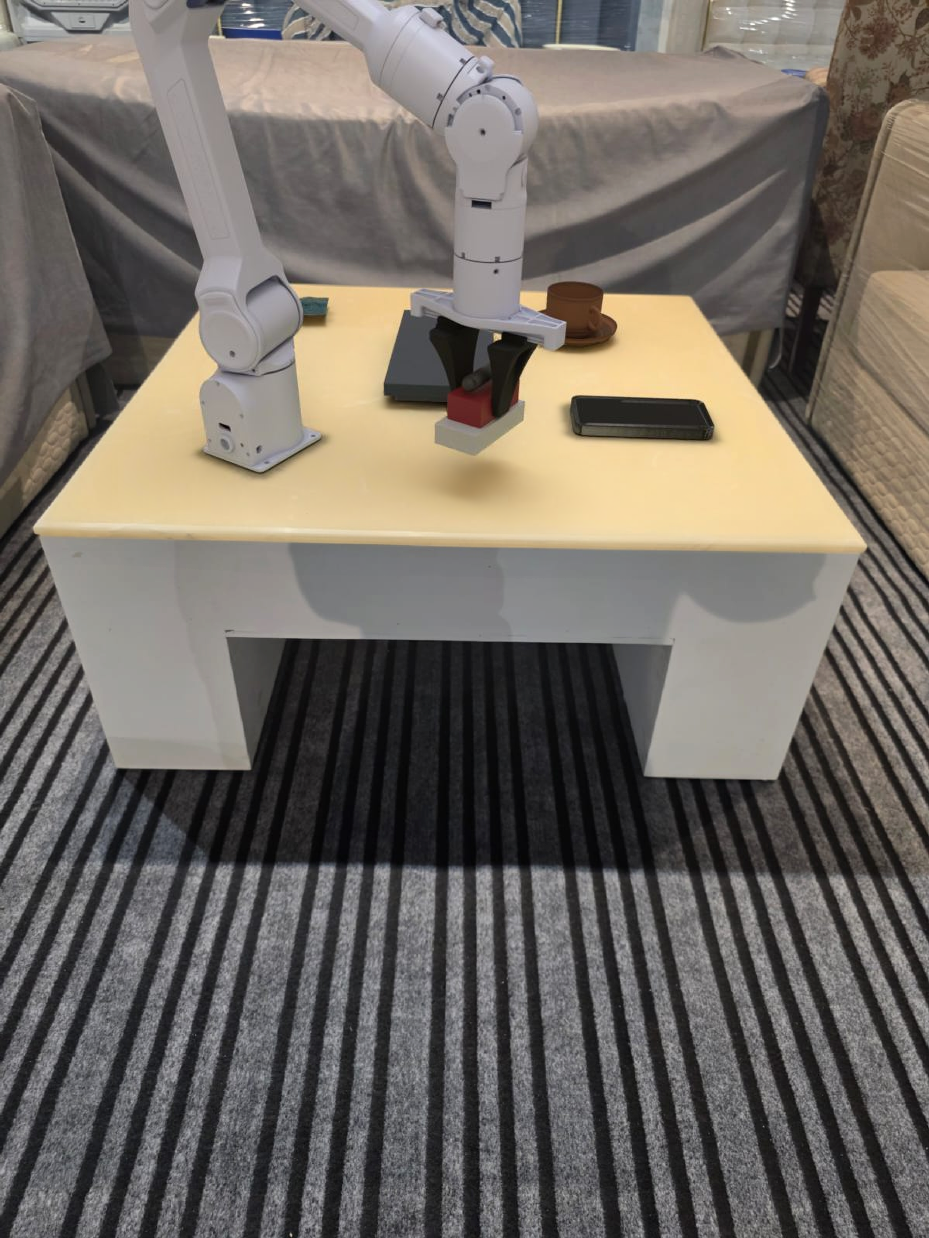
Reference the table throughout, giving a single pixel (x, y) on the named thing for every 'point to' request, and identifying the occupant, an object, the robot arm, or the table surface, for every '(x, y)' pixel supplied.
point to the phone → (641, 417)
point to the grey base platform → (423, 362)
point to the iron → (476, 415)
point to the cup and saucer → (579, 312)
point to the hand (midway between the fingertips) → (481, 407)
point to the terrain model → (314, 305)
